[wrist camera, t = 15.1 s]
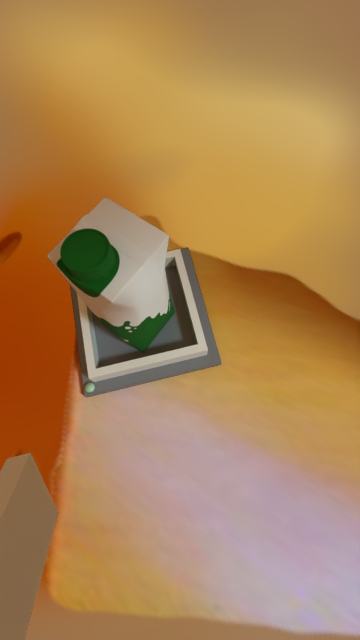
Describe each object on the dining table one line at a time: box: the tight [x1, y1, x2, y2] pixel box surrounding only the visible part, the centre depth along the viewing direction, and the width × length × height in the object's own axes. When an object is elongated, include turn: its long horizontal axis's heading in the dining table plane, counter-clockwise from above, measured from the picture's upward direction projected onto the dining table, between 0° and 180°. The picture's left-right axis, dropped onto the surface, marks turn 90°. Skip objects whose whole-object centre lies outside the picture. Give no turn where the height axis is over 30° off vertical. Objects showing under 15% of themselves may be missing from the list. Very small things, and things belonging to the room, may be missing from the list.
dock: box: [70, 248, 221, 397], centre depth 45 cm, size 18×18×4 cm
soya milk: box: [47, 197, 175, 353], centre depth 36 cm, size 9×9×20 cm
